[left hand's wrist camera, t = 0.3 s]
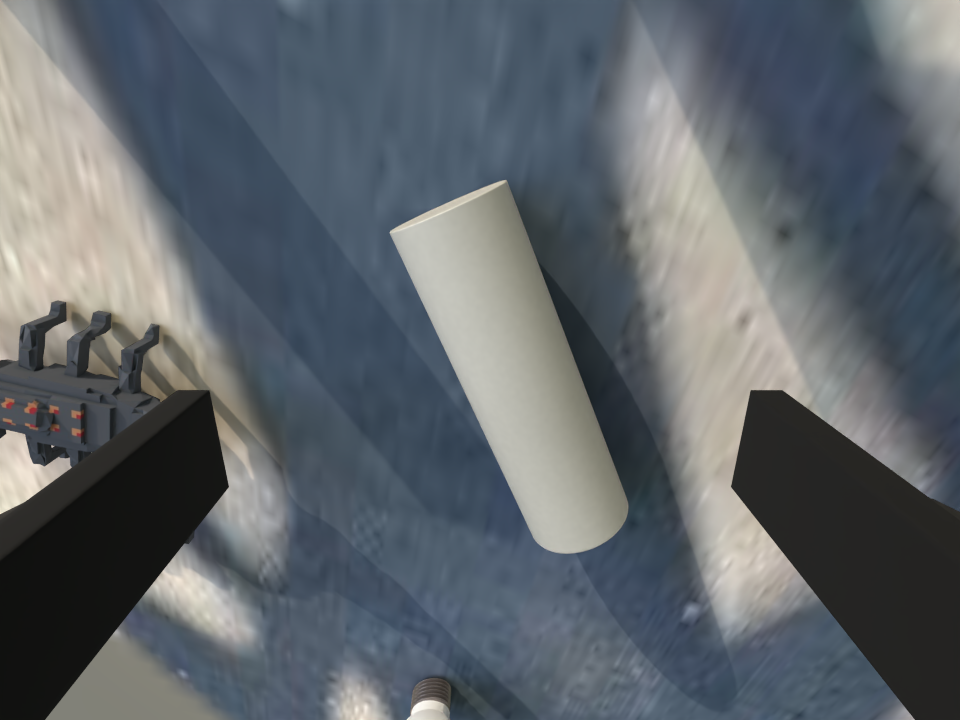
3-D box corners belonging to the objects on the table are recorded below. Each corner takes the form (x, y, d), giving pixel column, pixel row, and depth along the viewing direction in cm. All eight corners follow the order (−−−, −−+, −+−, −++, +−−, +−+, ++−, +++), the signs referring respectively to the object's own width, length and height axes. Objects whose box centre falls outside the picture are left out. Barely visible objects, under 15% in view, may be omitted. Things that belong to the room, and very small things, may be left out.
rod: (399, 223, 36) (378, 240, 28) (503, 177, 34) (510, 182, 27) (527, 500, 44) (536, 567, 37) (614, 470, 43) (641, 533, 36)
